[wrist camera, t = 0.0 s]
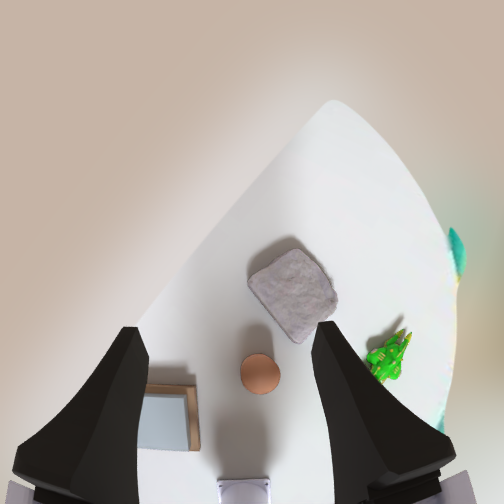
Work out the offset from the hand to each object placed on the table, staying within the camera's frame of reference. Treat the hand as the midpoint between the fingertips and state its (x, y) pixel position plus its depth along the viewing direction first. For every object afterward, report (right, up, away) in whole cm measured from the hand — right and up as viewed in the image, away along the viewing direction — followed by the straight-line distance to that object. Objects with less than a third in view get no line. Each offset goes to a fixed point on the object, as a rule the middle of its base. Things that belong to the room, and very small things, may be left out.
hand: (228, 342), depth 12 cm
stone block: (+7, -3, +33) cm, 34 cm away
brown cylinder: (+2, -13, +30) cm, 33 cm away
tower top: (-12, -20, +26) cm, 35 cm away
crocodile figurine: (+19, -16, +31) cm, 39 cm away
